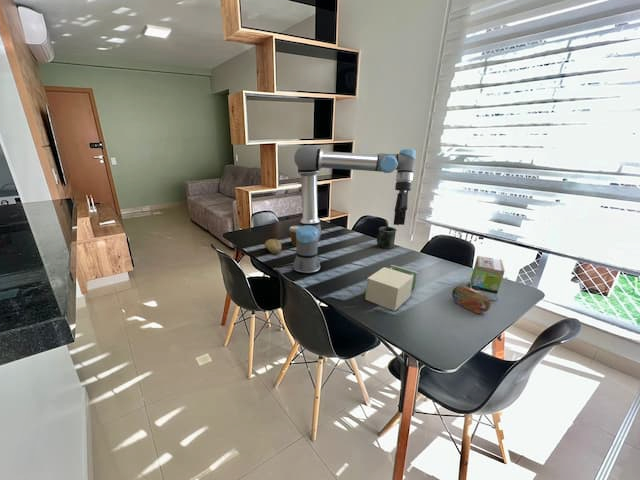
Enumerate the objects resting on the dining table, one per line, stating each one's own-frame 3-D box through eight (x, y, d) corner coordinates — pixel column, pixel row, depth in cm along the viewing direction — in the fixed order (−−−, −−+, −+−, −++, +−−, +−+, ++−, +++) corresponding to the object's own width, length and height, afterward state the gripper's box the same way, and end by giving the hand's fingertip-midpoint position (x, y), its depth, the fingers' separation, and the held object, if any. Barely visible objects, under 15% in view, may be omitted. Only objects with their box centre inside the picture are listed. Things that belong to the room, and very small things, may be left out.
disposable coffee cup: (302, 246, 194) (302, 229, 189) (288, 246, 196) (288, 229, 191) (303, 242, 202) (304, 225, 198) (290, 241, 204) (290, 225, 200)
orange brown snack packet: (450, 299, 128) (454, 283, 125) (454, 298, 129) (459, 281, 126) (483, 317, 115) (489, 299, 112) (488, 315, 117) (494, 297, 113)
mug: (397, 247, 190) (400, 229, 186) (382, 251, 184) (384, 233, 179) (384, 242, 199) (386, 225, 195) (369, 246, 192) (371, 229, 188)
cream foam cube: (381, 287, 140) (384, 267, 136) (409, 297, 131) (413, 275, 127) (365, 299, 130) (367, 278, 126) (394, 311, 121) (398, 288, 117)
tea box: (496, 301, 126) (505, 271, 121) (469, 295, 131) (476, 266, 126) (494, 287, 138) (502, 258, 133) (469, 282, 143) (476, 254, 138)
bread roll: (274, 246, 196) (274, 235, 193) (285, 253, 183) (285, 241, 180) (261, 248, 191) (261, 237, 188) (271, 256, 179) (271, 244, 176)
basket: (393, 277, 147) (395, 262, 144) (418, 285, 139) (421, 269, 135) (375, 291, 135) (377, 274, 131) (402, 301, 126) (405, 283, 123)
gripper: (418, 178, 130) (412, 225, 133) (406, 186, 155) (401, 225, 157) (400, 177, 132) (394, 223, 134) (392, 185, 156) (387, 224, 159)
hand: (398, 224), depth 146 cm, fingers open, 13 cm apart
